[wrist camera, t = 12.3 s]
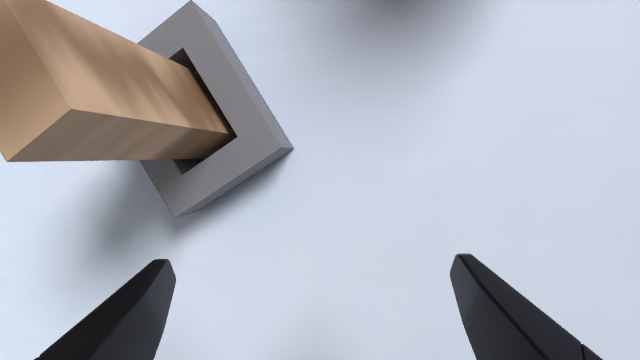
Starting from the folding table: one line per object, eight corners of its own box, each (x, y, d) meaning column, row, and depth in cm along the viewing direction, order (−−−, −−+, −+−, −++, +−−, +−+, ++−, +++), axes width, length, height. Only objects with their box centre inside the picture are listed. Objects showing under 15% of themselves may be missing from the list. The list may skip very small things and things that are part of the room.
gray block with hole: (293, 148, 22) (281, 147, 19) (199, 210, 23) (174, 218, 20) (215, 20, 22) (190, -1, 19) (126, 90, 24) (91, 80, 21)
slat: (242, 135, 22) (71, 108, 10) (210, 158, 23) (6, 161, 10) (205, 76, 23) (-13, -28, 10) (174, 100, 23) (-73, 32, 10)
